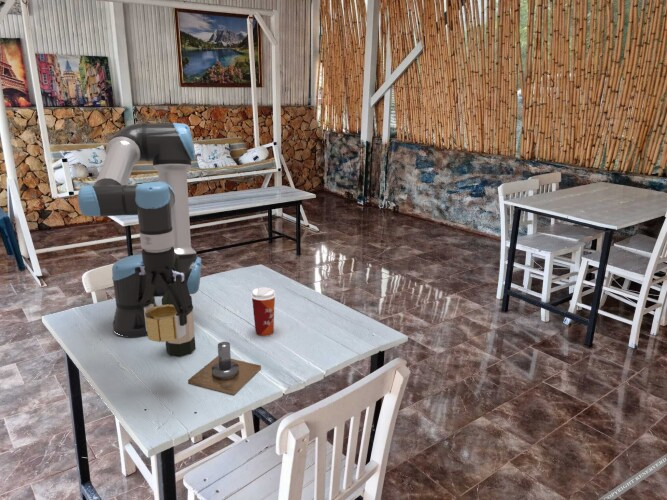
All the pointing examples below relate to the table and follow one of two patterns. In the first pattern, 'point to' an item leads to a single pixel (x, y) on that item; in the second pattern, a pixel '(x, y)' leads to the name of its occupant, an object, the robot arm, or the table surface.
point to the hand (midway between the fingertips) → (166, 332)
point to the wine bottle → (187, 341)
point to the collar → (161, 323)
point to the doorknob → (225, 372)
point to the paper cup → (263, 310)
